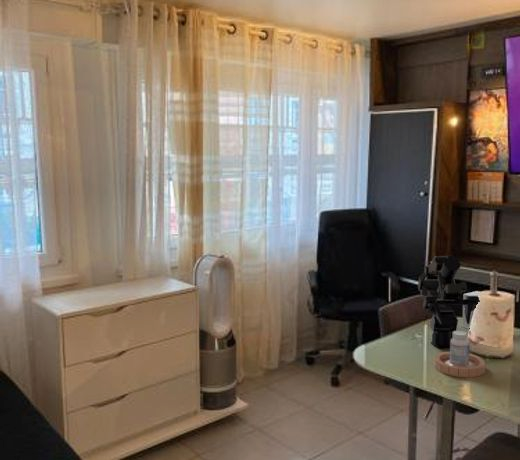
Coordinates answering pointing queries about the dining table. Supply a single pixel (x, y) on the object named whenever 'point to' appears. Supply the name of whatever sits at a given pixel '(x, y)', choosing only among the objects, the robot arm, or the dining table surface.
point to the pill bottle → (459, 349)
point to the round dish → (472, 370)
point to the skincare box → (464, 323)
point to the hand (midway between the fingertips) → (455, 323)
